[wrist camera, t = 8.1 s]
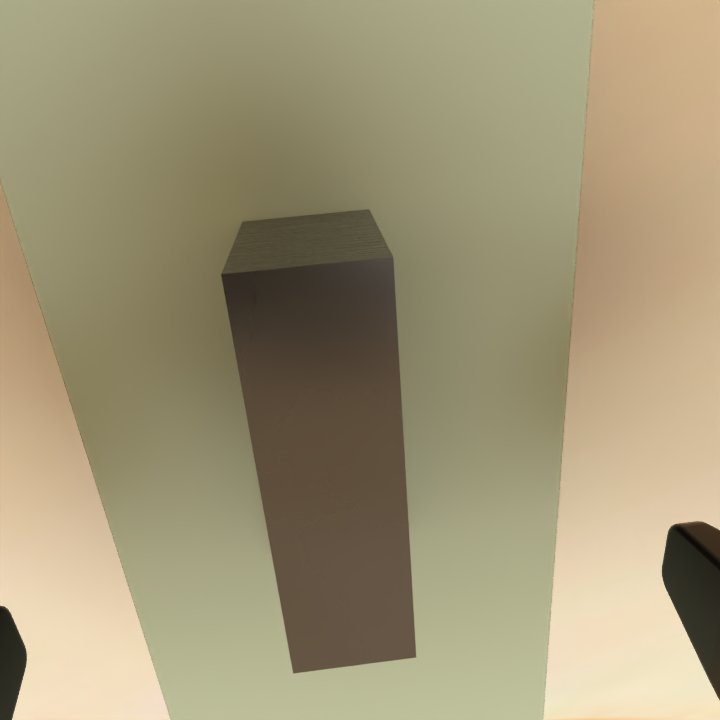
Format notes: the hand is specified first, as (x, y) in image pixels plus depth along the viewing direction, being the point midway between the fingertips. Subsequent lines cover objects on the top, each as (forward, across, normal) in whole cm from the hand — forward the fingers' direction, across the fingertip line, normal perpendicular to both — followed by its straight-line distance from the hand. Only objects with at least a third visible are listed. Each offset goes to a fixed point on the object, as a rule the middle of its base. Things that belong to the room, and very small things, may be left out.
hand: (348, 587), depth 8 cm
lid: (+6, 0, 0) cm, 6 cm away
